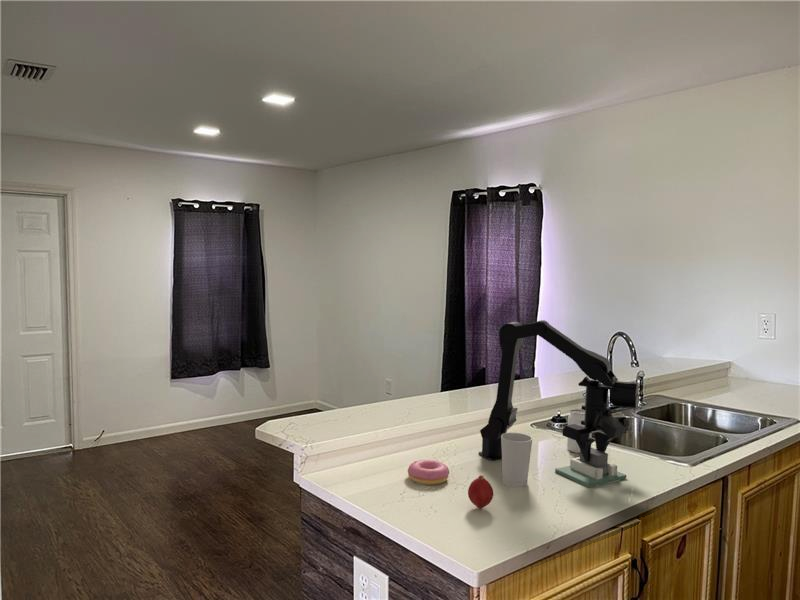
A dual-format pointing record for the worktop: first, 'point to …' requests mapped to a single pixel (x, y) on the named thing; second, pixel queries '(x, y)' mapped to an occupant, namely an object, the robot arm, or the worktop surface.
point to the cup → (515, 458)
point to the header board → (590, 473)
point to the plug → (597, 459)
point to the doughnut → (428, 472)
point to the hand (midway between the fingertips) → (593, 460)
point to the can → (576, 418)
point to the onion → (480, 492)
